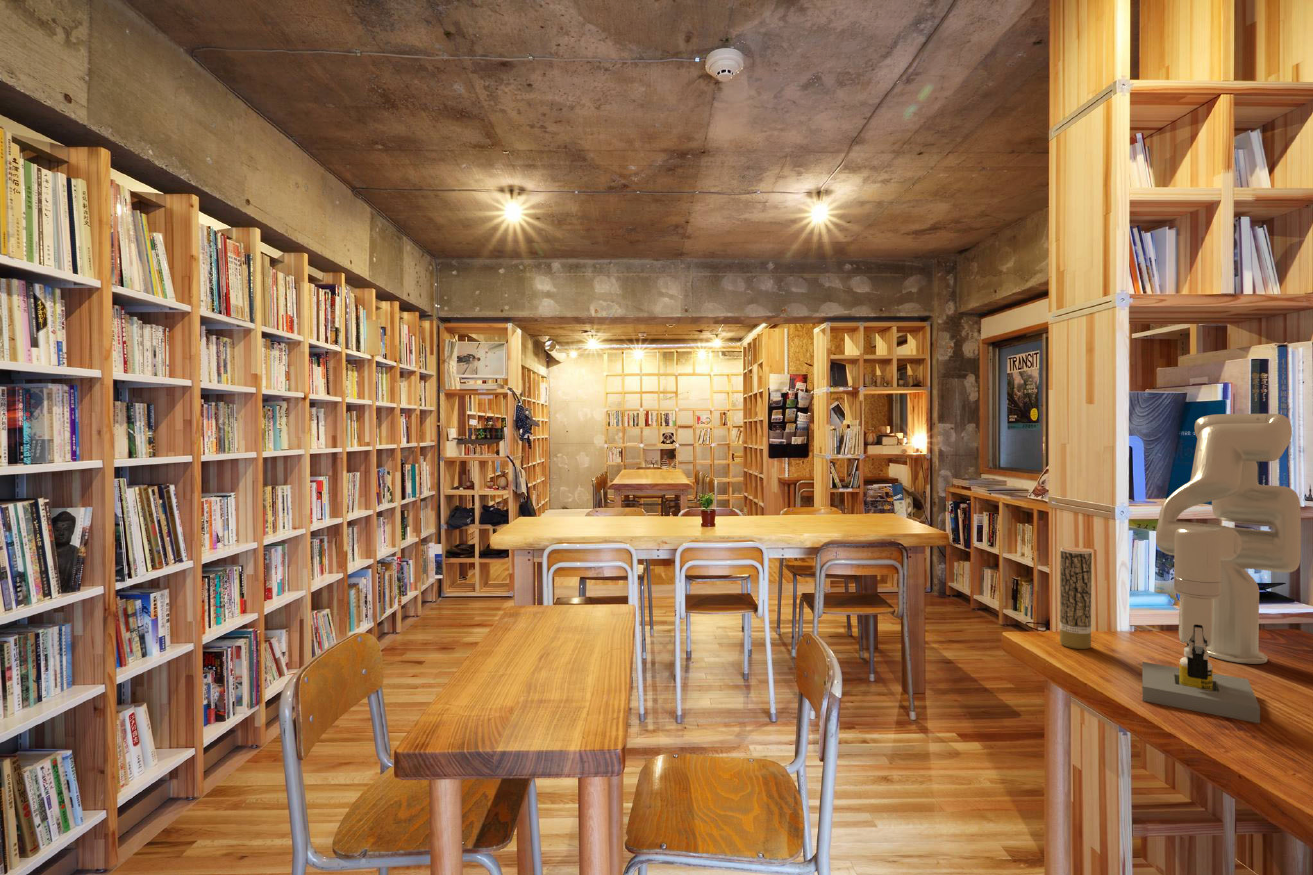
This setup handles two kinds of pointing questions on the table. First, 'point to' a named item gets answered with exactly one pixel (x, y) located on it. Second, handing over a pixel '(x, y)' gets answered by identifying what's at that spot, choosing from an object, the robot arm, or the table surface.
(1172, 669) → the socket board
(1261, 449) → the robot arm
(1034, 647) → the table surface
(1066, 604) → the paper tube
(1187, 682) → the supplement bottle
